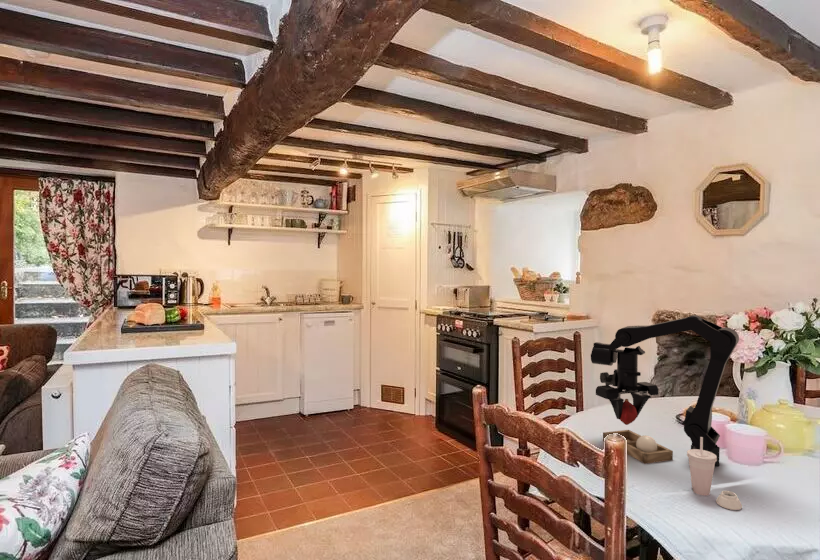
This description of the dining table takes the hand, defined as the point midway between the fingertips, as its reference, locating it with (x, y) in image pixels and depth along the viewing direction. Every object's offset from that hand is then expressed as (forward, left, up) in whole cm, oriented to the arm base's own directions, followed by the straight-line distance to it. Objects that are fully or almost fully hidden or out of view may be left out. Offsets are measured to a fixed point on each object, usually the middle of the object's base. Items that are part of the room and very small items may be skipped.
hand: (626, 418), depth 148 cm
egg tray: (-4, 0, -9) cm, 10 cm away
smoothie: (-29, +2, -10) cm, 31 cm away
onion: (0, 0, -2) cm, 2 cm away
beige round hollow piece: (-36, +1, -10) cm, 37 cm away
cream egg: (-8, 0, -8) cm, 12 cm away
